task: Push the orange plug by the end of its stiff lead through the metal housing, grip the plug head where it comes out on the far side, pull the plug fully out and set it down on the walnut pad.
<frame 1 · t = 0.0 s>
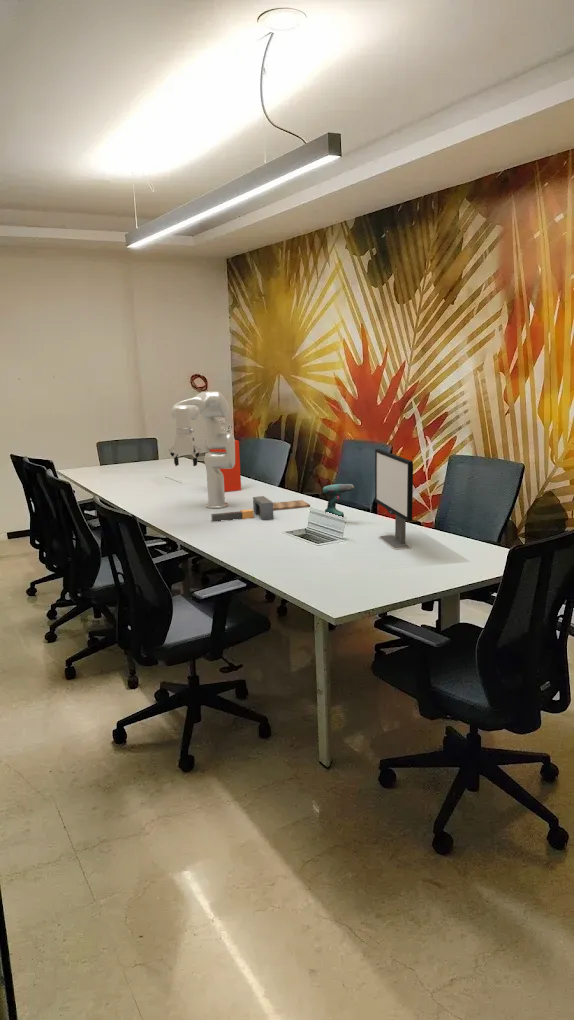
hand: (186, 465, 329), 31 cm above the table, tool pointing down, fingers open, 9 cm apart
computer monitor: (394, 543, 295), on the table
housing: (263, 516, 352), on the table
pad: (284, 506, 373), on the table
power drill: (338, 522, 334), on the table
file binder: (226, 490, 423), on the table
plug: (232, 519, 347), on the table
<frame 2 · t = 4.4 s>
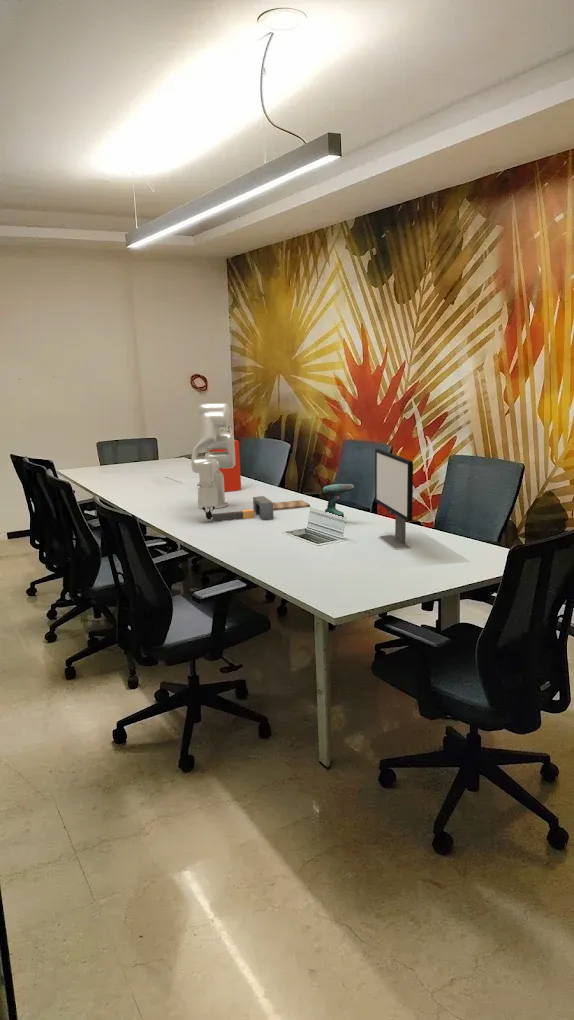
hand: (209, 519, 343), 1 cm above the table, tool pointing down, fingers closed
plug: (233, 519, 347), on the table, touching gripper
everything else where it was.
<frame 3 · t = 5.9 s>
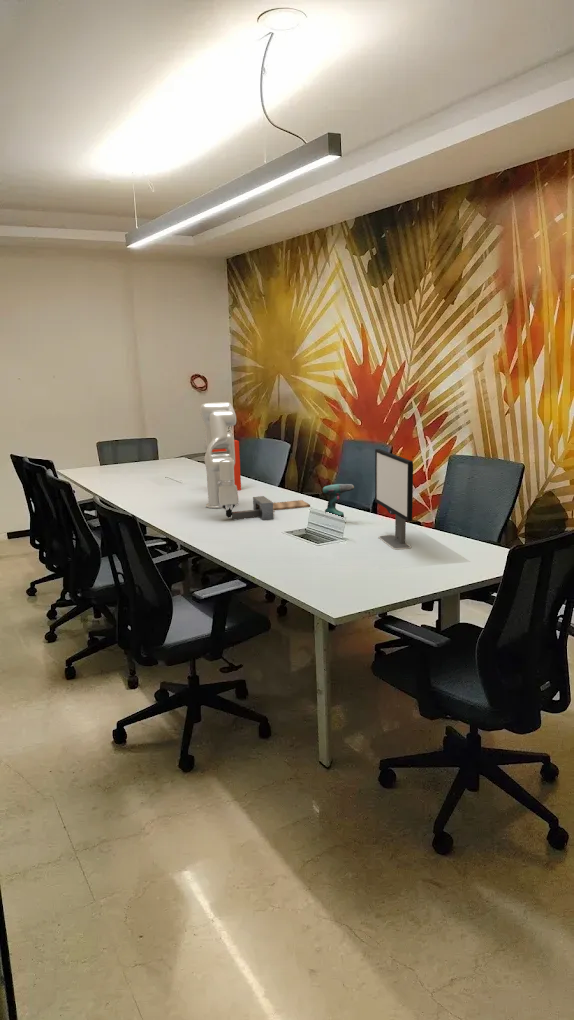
hand: (229, 517, 346), 1 cm above the table, tool pointing down, fingers closed
plug: (252, 517, 350), on the table, touching gripper
everything else where it was.
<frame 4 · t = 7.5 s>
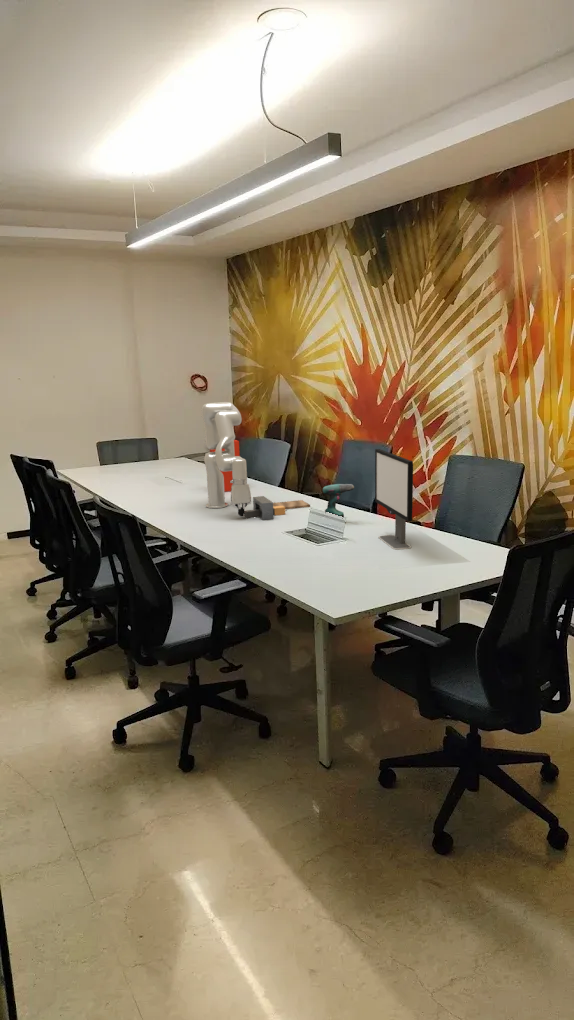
hand: (241, 515, 348), 1 cm above the table, tool pointing down, fingers closed
plug: (264, 515, 352), on the table, touching gripper
everything else where it was.
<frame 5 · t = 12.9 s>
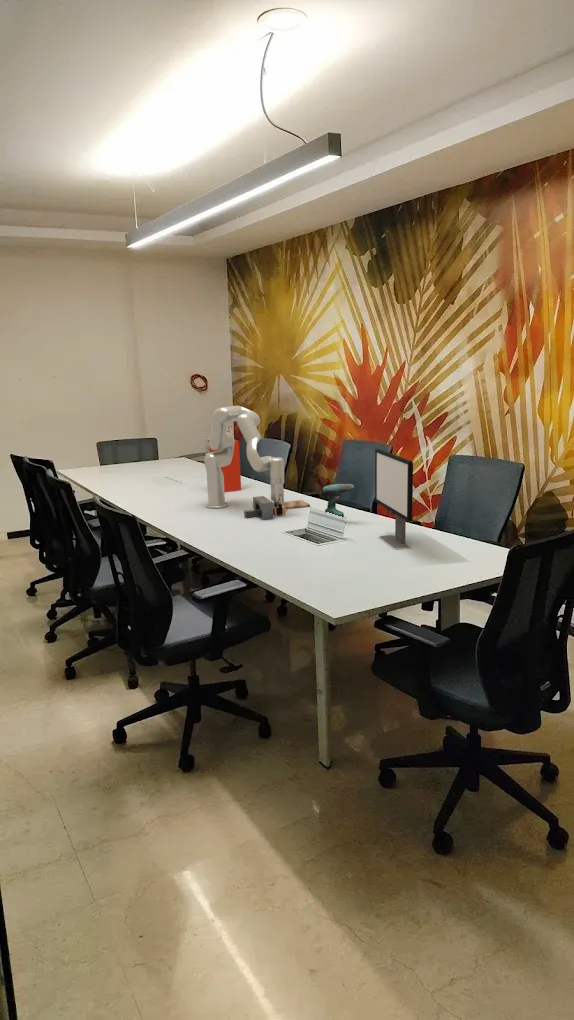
hand: (278, 513, 354), 1 cm above the table, tool pointing down, fingers closed on plug, 4 cm apart
plug: (264, 515, 352), on the table, touching gripper
everything else where it was.
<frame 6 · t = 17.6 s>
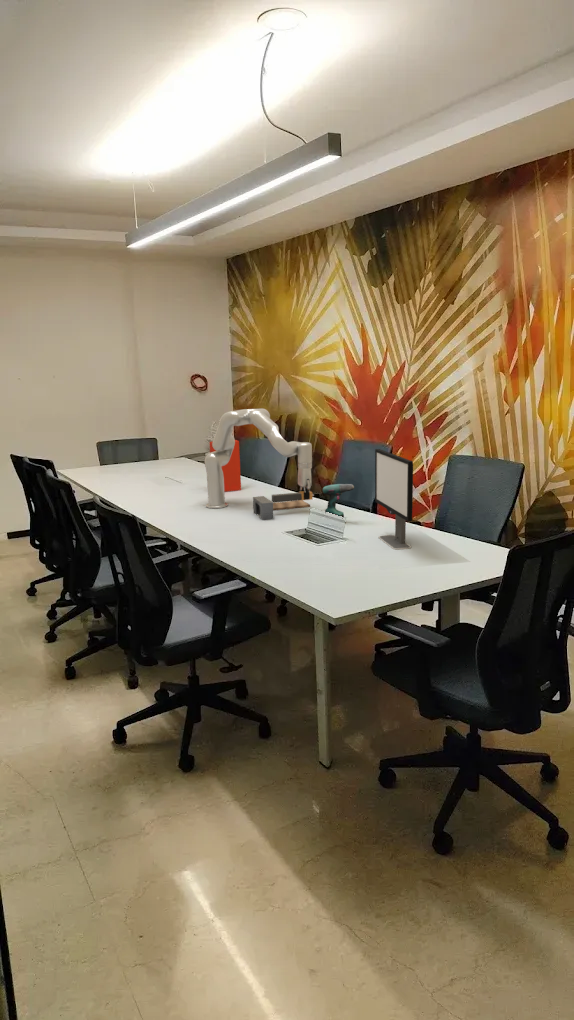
hand: (305, 498, 357), 8 cm above the table, tool pointing down, fingers closed on plug, 4 cm apart
plug: (291, 500, 355), point 7 cm above the table, touching gripper
everything else where it was.
when the fingers open (3 cm above the table, at t = 21.9 s): plug drops 2 cm, resting on pad.
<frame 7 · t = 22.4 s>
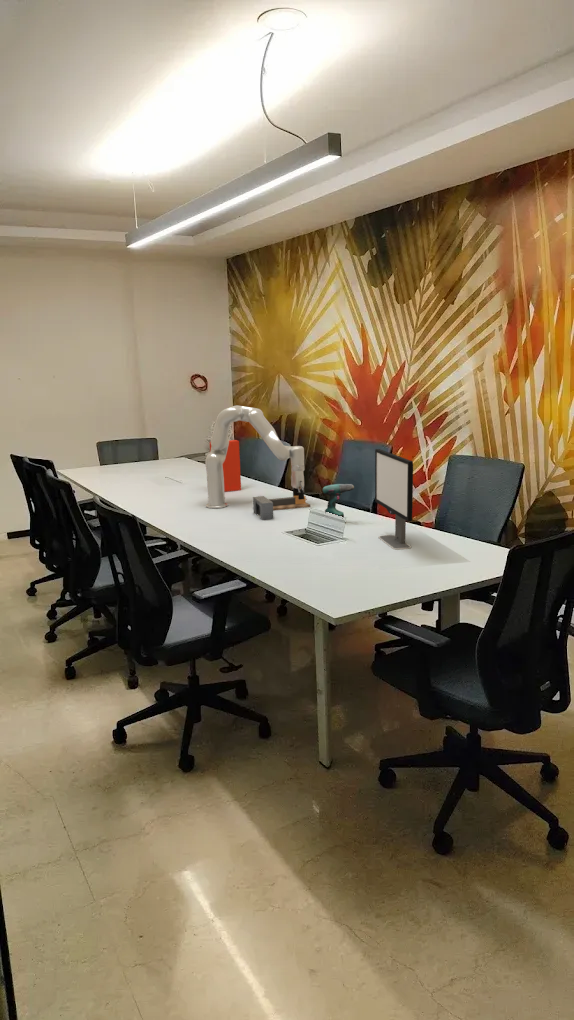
hand: (298, 497, 374), 4 cm above the table, tool pointing down, fingers open, 9 cm apart
plug: (286, 504, 373), point 1 cm above the table, touching pad
everything else where it was.
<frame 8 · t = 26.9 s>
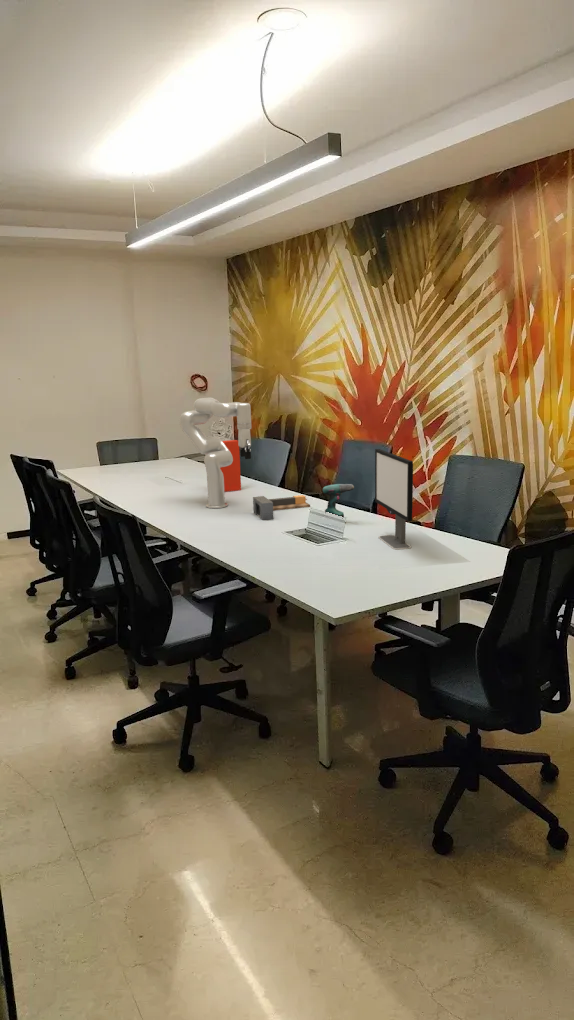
hand: (245, 457, 356), 30 cm above the table, tool pointing down, fingers open, 9 cm apart
nothing on the table moved.
at the end: plug inside the target area on the pad (1.0 cm from its centre), point 1.2 cm above the pad's base; plug touching pad; the gripper is holding nothing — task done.
